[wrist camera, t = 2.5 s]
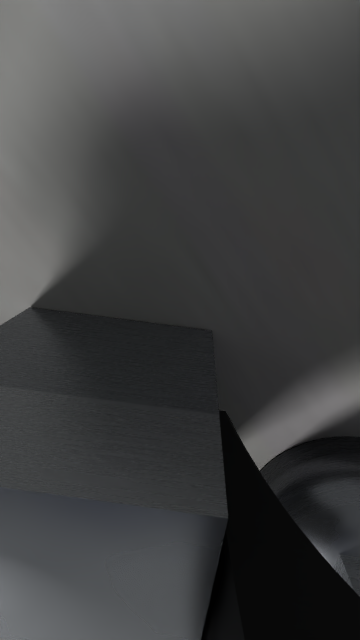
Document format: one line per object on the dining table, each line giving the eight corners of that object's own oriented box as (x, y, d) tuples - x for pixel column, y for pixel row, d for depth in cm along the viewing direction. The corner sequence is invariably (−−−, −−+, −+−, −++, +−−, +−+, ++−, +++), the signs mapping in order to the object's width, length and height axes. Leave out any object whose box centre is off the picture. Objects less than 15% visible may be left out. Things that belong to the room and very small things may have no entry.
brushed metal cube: (189, 473, 11) (178, 739, 6) (36, 452, 11) (-122, 695, 6) (211, 330, 9) (228, 518, 4) (29, 307, 10) (-214, 457, 4)
